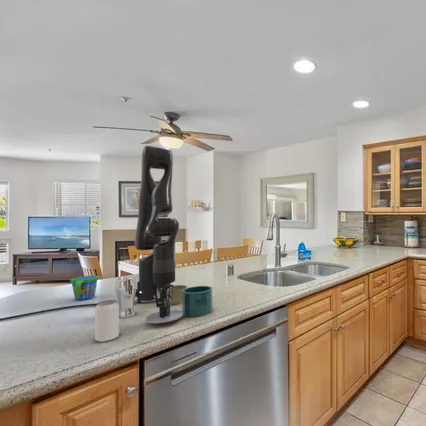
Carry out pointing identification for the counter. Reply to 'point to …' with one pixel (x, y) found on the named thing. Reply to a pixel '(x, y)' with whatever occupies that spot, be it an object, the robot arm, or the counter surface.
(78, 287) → the blue green tapered container
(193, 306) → the canister
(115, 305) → the can
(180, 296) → the flower pot
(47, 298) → the counter surface
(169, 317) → the lid
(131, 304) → the beer glass
